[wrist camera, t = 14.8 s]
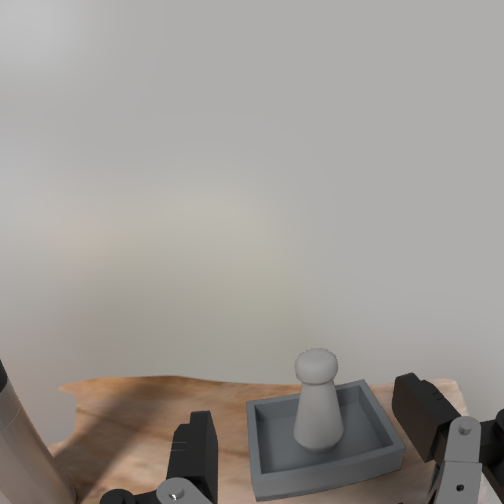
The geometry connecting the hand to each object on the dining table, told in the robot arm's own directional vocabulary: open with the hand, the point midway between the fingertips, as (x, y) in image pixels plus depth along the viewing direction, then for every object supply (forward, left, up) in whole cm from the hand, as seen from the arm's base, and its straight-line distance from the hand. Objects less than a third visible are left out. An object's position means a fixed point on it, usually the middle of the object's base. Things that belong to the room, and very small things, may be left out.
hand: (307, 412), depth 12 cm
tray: (+4, +17, -22) cm, 28 cm away
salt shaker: (+4, +17, -21) cm, 27 cm away
